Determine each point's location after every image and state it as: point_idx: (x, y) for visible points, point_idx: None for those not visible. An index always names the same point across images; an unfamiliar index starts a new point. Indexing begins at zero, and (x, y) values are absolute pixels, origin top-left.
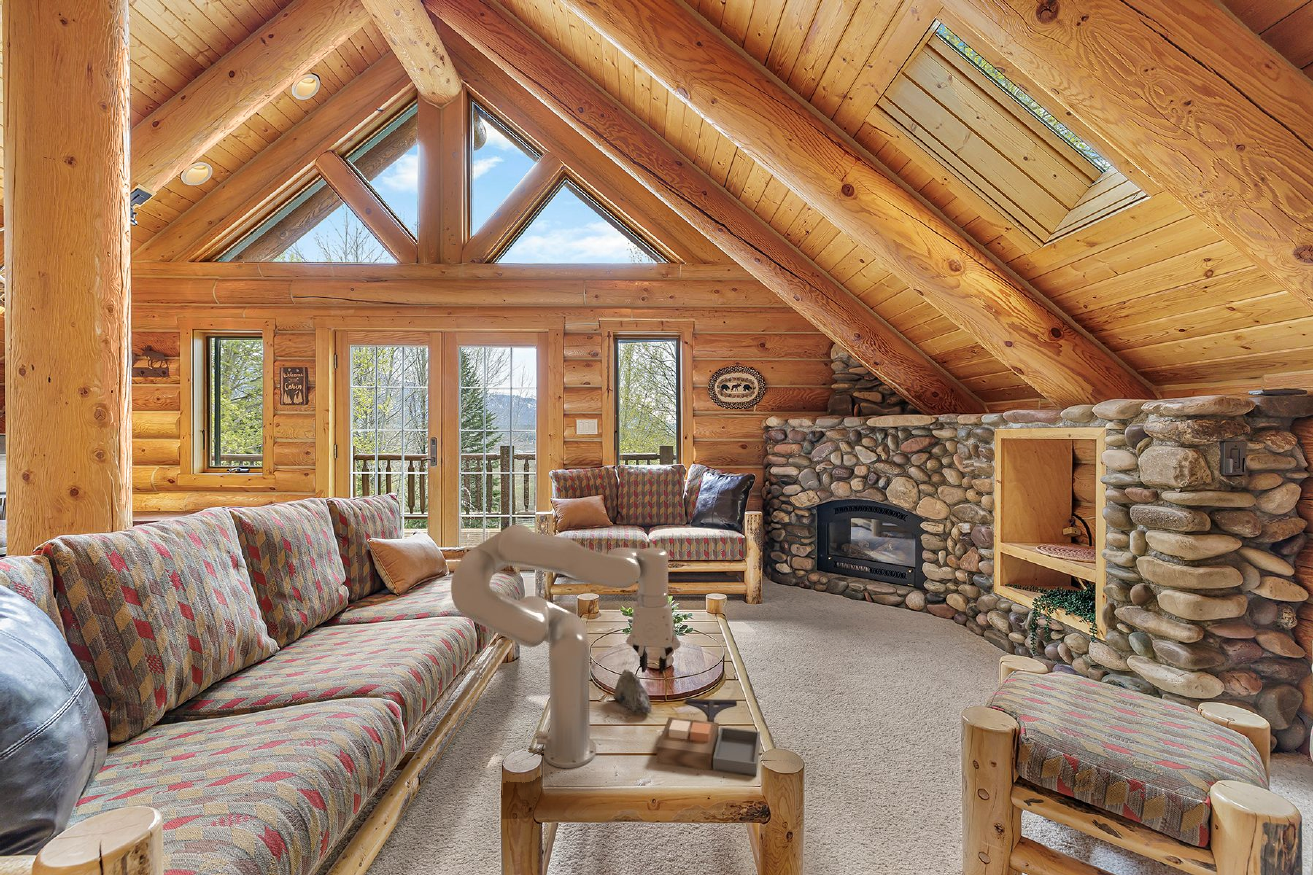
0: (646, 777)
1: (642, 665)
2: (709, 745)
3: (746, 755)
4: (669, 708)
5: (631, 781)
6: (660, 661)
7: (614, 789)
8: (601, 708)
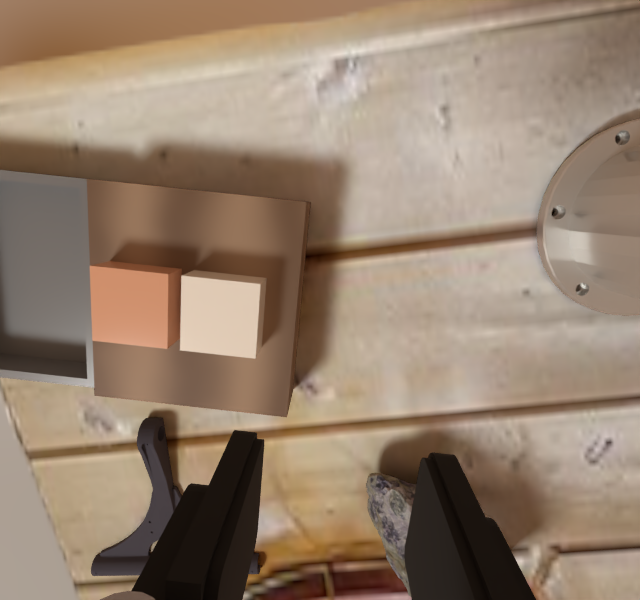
0: (335, 109)
1: (469, 507)
2: (102, 235)
3: (15, 272)
4: (309, 522)
5: (385, 76)
6: (204, 544)
7: (441, 16)
8: (543, 505)
